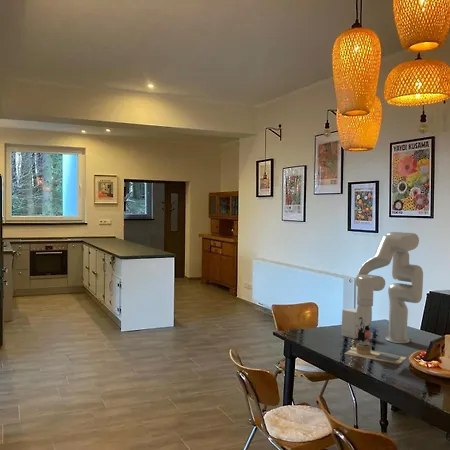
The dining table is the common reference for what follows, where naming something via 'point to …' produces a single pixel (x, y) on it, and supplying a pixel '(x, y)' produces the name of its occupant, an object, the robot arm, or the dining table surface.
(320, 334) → the dining table surface
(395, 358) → the board
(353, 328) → the supplement box
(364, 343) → the peg
